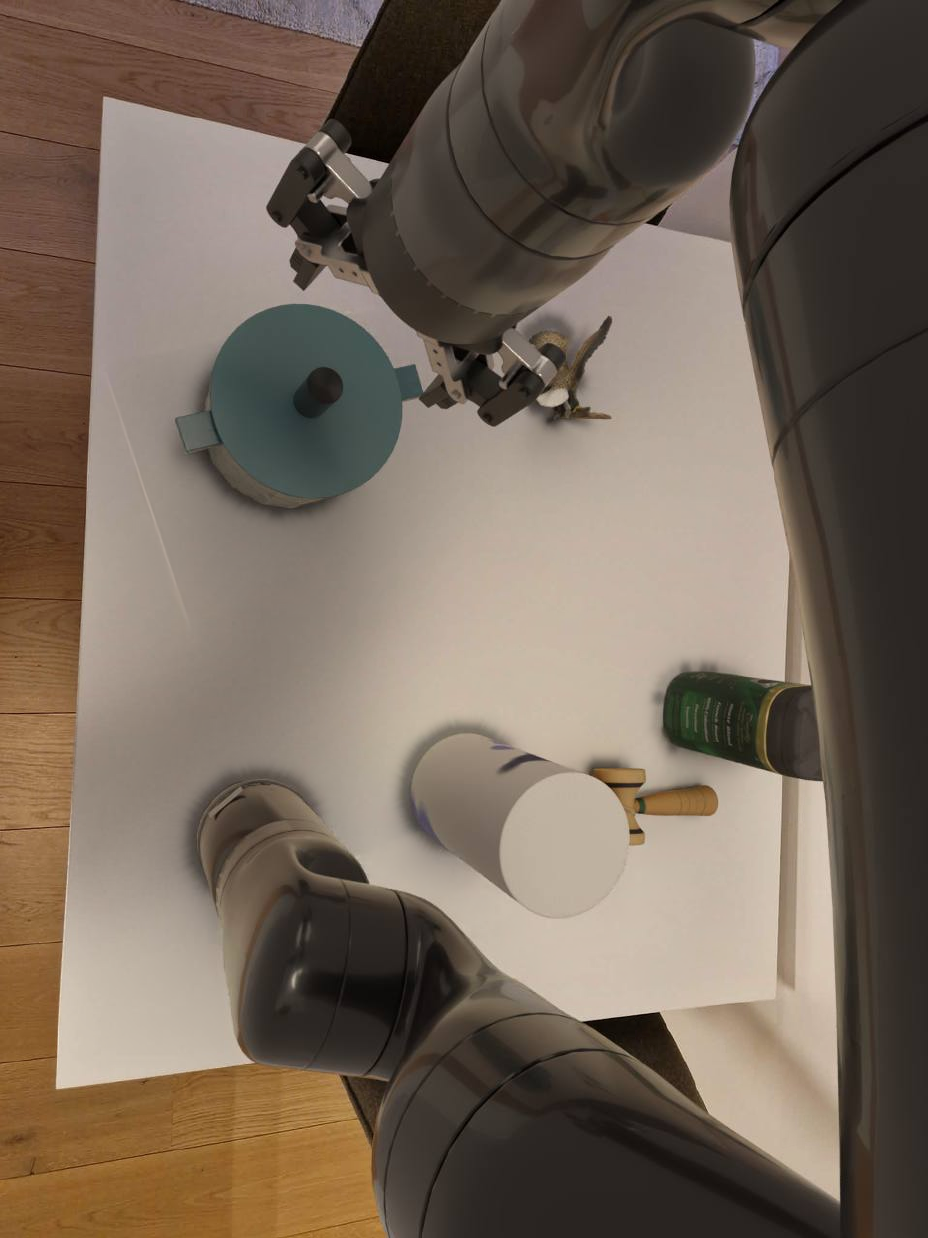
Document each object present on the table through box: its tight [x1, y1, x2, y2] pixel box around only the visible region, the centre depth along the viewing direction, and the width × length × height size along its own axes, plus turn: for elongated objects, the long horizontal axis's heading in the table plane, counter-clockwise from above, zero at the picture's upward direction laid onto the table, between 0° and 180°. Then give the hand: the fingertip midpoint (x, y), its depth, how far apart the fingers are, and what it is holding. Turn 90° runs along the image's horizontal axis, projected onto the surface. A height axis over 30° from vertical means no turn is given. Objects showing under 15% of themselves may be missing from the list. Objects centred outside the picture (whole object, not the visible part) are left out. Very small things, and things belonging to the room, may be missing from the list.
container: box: [410, 732, 630, 920], centre depth 69 cm, size 10×10×20 cm
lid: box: [208, 303, 403, 500], centre depth 60 cm, size 14×14×6 cm
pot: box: [174, 363, 424, 509], centre depth 67 cm, size 13×18×10 cm
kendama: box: [592, 767, 719, 847], centre depth 82 cm, size 8×6×18 cm
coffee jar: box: [663, 671, 823, 783], centre depth 79 cm, size 10×8×19 cm
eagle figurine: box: [528, 315, 613, 421], centre depth 79 cm, size 8×7×9 cm
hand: (373, 333), depth 46 cm, fingers open, 8 cm apart
